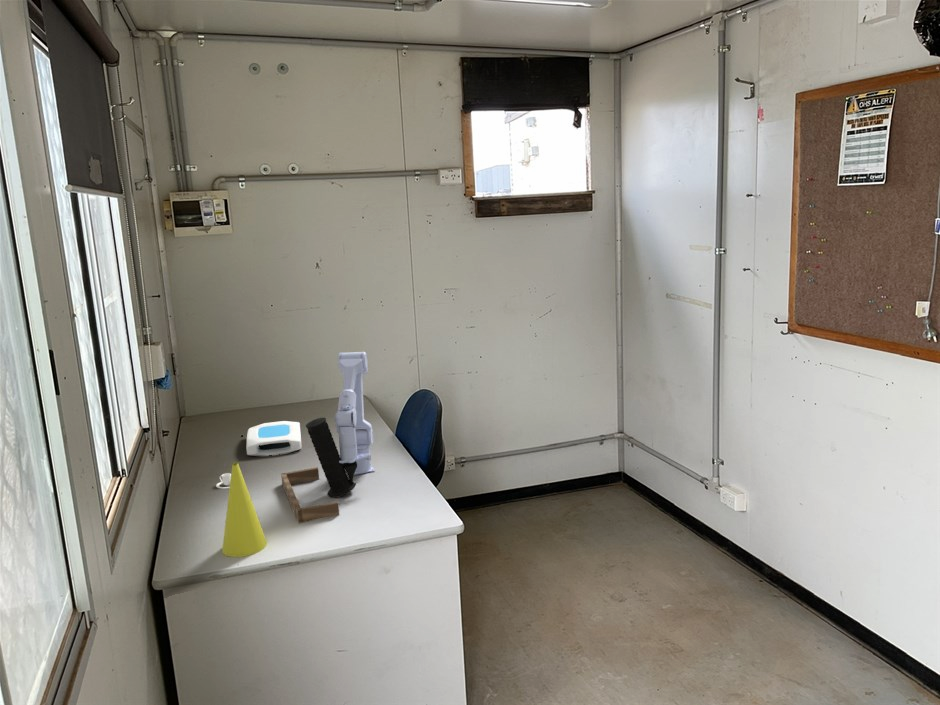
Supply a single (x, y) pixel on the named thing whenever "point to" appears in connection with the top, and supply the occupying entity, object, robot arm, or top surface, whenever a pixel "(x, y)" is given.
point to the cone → (241, 520)
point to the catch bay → (299, 512)
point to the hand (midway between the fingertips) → (351, 483)
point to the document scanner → (273, 437)
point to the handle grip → (329, 458)
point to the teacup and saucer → (225, 480)
